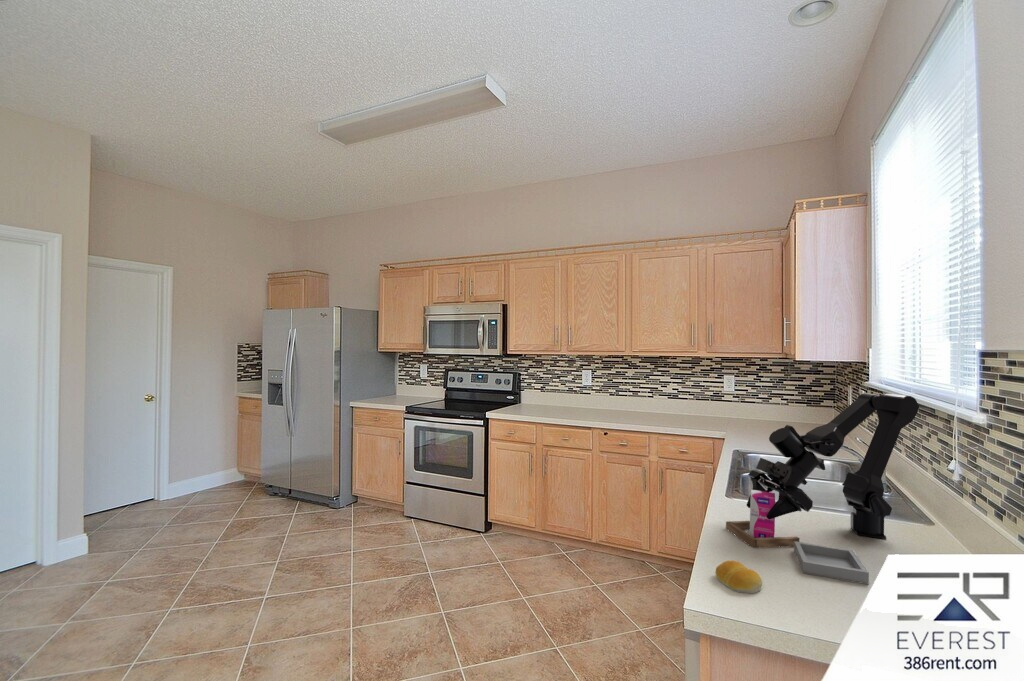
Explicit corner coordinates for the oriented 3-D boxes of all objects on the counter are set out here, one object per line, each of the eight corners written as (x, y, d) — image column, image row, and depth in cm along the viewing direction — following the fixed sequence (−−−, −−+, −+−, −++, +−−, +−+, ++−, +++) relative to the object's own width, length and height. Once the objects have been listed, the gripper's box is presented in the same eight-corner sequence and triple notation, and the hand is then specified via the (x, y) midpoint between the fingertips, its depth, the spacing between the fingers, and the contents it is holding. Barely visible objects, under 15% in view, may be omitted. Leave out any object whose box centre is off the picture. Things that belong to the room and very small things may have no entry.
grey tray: (852, 560, 112) (852, 550, 112) (868, 584, 100) (868, 572, 101) (794, 551, 116) (794, 541, 116) (803, 573, 105) (803, 561, 105)
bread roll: (741, 598, 95) (742, 578, 95) (708, 577, 103) (709, 558, 103) (772, 591, 98) (772, 571, 98) (738, 571, 106) (738, 553, 106)
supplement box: (749, 538, 123) (750, 495, 123) (749, 531, 128) (750, 488, 129) (774, 543, 121) (775, 498, 121) (774, 535, 126) (774, 492, 126)
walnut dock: (768, 527, 131) (768, 520, 131) (799, 546, 119) (799, 538, 119) (725, 528, 130) (725, 521, 130) (753, 547, 118) (753, 539, 118)
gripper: (754, 440, 134) (717, 480, 133) (802, 457, 116) (760, 503, 114) (780, 468, 135) (743, 507, 134) (831, 488, 117) (789, 534, 115)
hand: (757, 512), depth 124 cm, fingers open, 8 cm apart
